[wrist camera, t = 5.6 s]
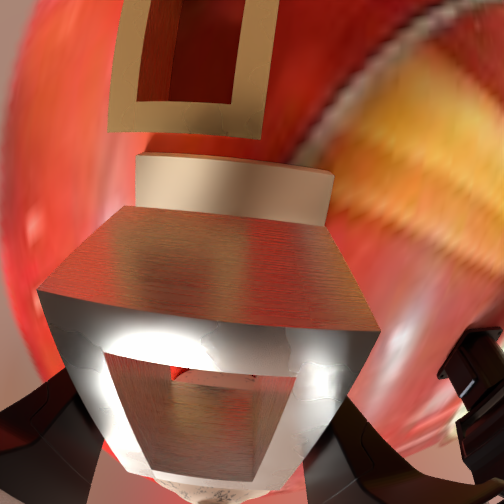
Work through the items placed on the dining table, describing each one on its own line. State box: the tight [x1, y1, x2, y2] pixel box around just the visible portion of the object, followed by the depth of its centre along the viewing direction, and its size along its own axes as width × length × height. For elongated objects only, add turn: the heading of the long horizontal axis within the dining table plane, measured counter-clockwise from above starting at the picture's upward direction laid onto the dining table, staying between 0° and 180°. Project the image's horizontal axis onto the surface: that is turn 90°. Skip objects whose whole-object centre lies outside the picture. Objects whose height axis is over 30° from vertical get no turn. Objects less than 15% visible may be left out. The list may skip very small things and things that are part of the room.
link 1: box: [107, 0, 279, 140], centre depth 10 cm, size 9×6×4 cm, turn 173°
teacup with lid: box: [154, 369, 271, 504], centre depth 19 cm, size 12×9×12 cm
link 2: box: [37, 206, 381, 490], centre depth 8 cm, size 9×6×4 cm, turn 173°
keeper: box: [135, 152, 335, 226], centre depth 15 cm, size 10×10×5 cm
